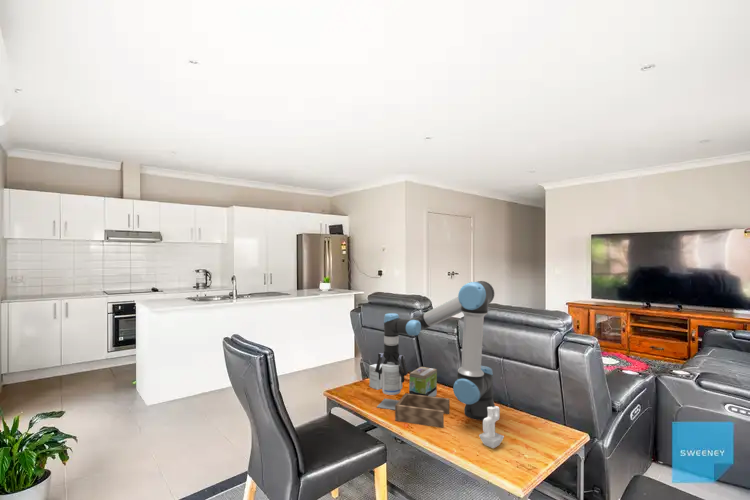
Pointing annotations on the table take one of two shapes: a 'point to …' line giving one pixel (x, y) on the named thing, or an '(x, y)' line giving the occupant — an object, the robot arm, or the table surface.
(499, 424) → the table surface
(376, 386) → the supplement box
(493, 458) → the table surface
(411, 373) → the tea box
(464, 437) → the table surface
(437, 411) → the walnut box
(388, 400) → the grey mat
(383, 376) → the supplement tub
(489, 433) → the figurine
